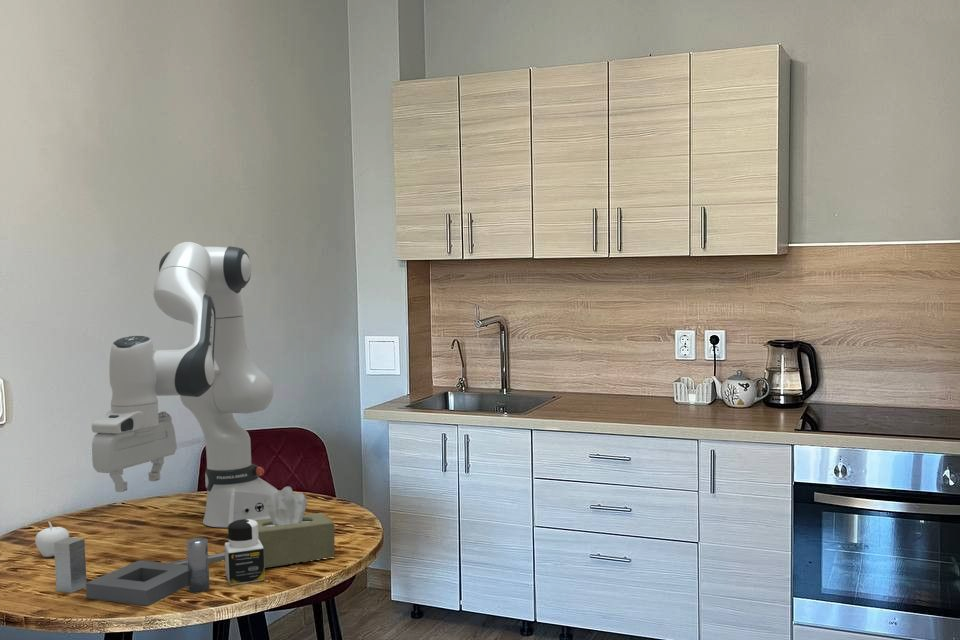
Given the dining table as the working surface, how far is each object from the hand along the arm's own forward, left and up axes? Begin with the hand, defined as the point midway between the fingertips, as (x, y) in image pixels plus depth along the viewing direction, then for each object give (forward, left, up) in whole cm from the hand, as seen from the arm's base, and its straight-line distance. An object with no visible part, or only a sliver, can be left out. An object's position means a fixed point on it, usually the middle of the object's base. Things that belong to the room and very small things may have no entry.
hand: (138, 485), depth 182 cm
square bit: (+13, -8, -21) cm, 26 cm away
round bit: (-10, +6, -21) cm, 24 cm away
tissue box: (-31, -4, -21) cm, 37 cm away
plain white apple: (+16, -36, -21) cm, 45 cm away
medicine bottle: (-20, +4, -21) cm, 29 cm away
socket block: (0, 0, -21) cm, 21 cm away
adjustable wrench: (-16, -12, -22) cm, 30 cm away
